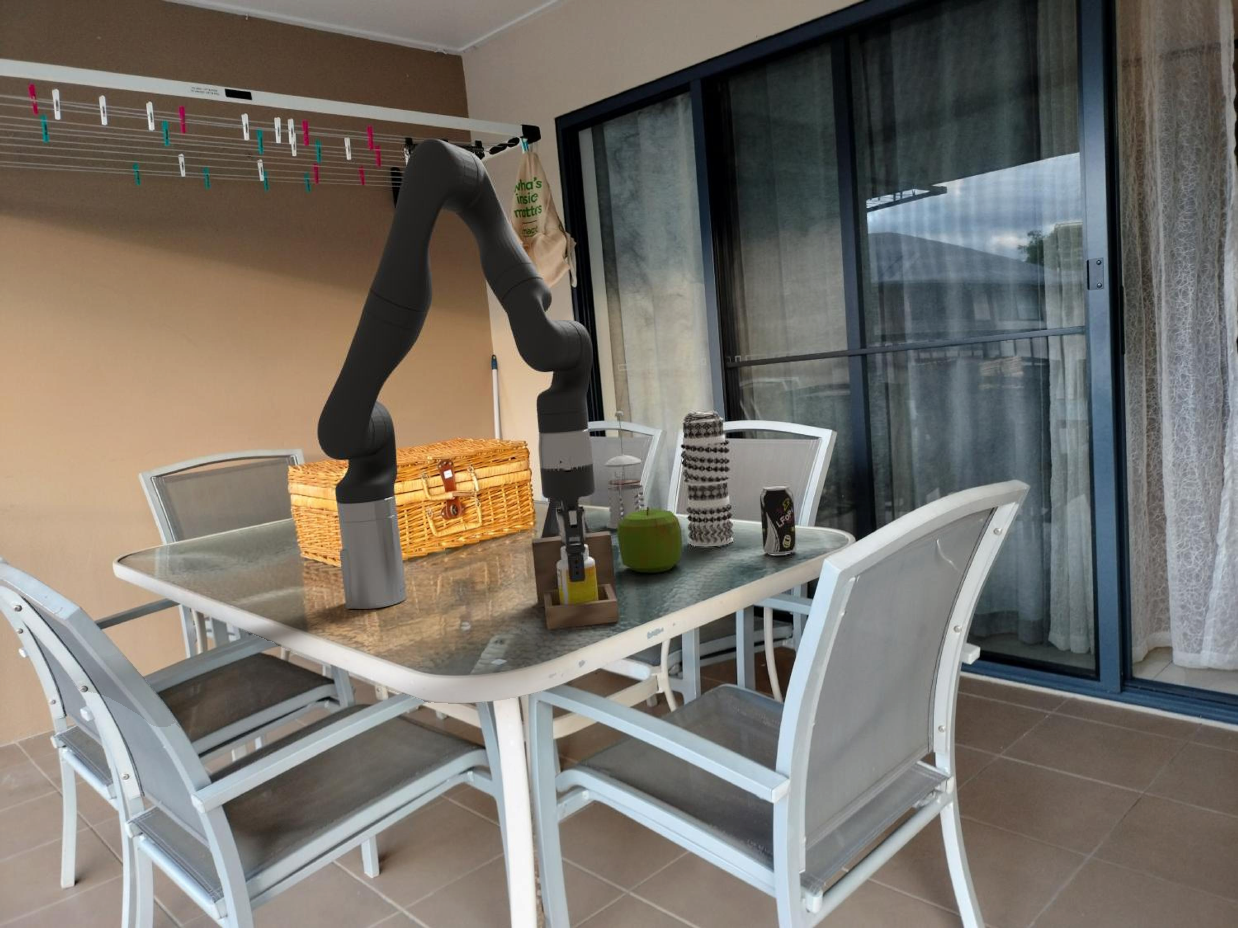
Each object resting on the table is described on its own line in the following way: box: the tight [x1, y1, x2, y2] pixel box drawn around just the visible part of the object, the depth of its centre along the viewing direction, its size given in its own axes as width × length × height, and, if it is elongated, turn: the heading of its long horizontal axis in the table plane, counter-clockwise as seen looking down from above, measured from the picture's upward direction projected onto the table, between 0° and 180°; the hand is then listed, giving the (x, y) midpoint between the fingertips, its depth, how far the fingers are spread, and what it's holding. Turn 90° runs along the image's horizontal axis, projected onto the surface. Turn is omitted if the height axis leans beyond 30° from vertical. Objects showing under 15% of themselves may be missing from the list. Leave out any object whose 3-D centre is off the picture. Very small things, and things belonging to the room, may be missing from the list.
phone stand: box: [540, 499, 591, 538], centre depth 187 cm, size 9×6×12 cm, turn 71°
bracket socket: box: [531, 530, 620, 631], centre depth 132 cm, size 12×15×10 cm
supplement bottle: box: [557, 544, 598, 605], centre depth 130 cm, size 6×6×10 cm
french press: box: [604, 410, 646, 530], centre depth 196 cm, size 10×12×25 cm
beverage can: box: [759, 484, 797, 555], centre depth 158 cm, size 6×6×12 cm
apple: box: [616, 506, 683, 574], centre depth 154 cm, size 11×11×11 cm
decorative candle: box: [680, 410, 734, 547], centre depth 171 cm, size 9×9×25 cm
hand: (575, 574), depth 130 cm, fingers open, 8 cm apart
